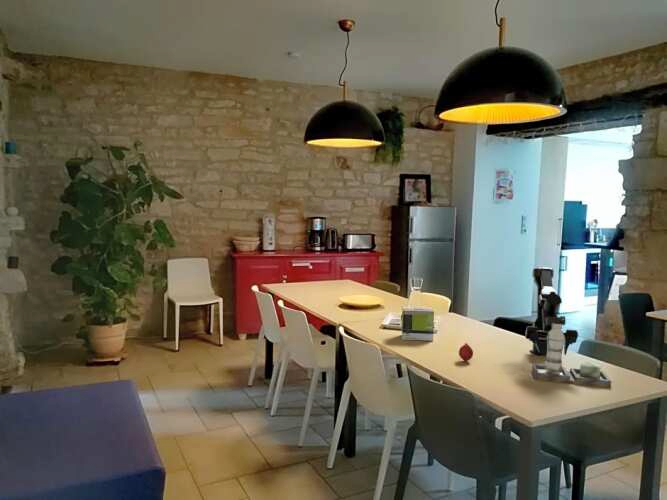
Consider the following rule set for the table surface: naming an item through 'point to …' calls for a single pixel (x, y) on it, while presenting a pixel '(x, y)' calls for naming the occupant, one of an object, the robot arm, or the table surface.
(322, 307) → the table surface
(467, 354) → the onion
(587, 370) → the grey flat tray
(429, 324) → the tea box
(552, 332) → the plastic bottle
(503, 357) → the table surface
